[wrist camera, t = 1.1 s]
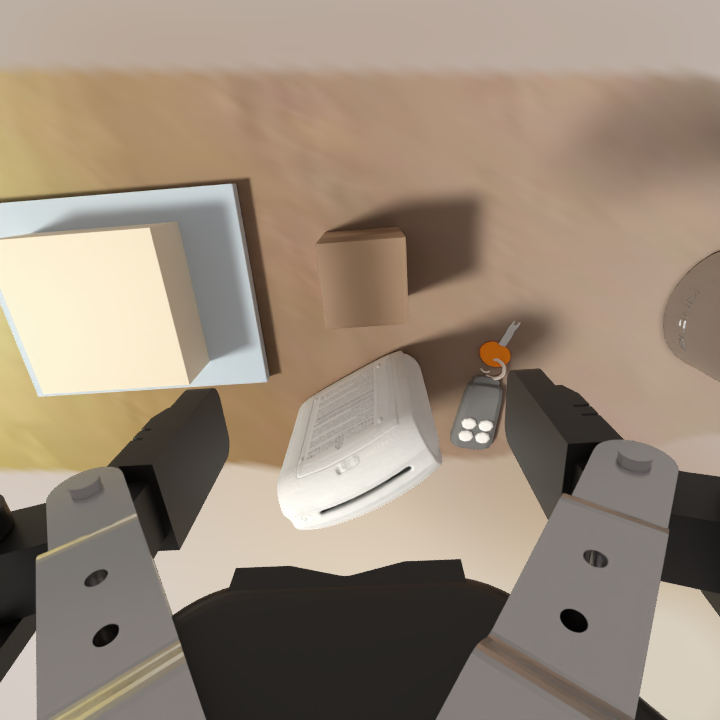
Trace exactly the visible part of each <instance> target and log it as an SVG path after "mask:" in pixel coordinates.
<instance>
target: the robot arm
mask: <svg viewBox="0 0 720 720" xmlns="http://www.w3.org/2000/svg"><path fill="white" fill-rule="evenodd" d="M663 328H664V335H665V339H666V342H667V344H668V346H669V348H670V349H671V351H672V352H673V353H674V354H675V355H676V356H677V357H678V358H680V359H681V360H682V361H684V362H685V363H687V364H689V365H691V366H692V367H694V368H696V369H698V370H699V371H701V372H703V373H705V374H706V375H708V376H710V377H712V378H713V379H715V380H717V381H719V382H720V251H719V252H717V253H715V254H713V255H711V256H709V257H708V258H706V259H705V260H703V261H702V262H700V263H699V264H697V265H696V266H695V267H694V268H693V269H692V270H691V271H690V272H688V273H687V274H686V275H685V276H684V278H683V279H682V280H681V282H680V283H679V284H678V285H677V287H676V288H675V290H674V292H673V293H672V295H671V297H670V299H669V301H668V304H667V307H666V310H665V314H664V323H663ZM505 432H506V437H507V441H508V444H509V446H510V448H511V450H512V452H513V454H514V456H515V457H516V459H517V461H518V463H519V465H520V467H521V469H522V471H523V473H524V475H525V477H526V478H527V480H528V482H529V484H530V486H531V488H532V490H533V492H534V494H535V496H536V498H537V499H538V501H539V503H540V505H541V507H542V509H543V511H544V513H545V515H546V517H547V519H548V522H547V524H546V526H545V528H544V530H543V532H542V534H541V536H540V538H539V540H538V542H537V544H536V546H535V547H534V550H533V551H532V553H531V555H530V557H529V559H528V561H527V563H526V565H525V567H524V569H523V571H522V573H521V575H520V577H519V579H518V581H517V582H516V584H515V586H514V588H513V590H512V592H511V594H509V593H506V592H505V591H503V590H501V589H498V588H496V587H493V586H491V585H489V584H485V583H482V582H479V581H475V580H471V579H466V578H465V575H464V571H463V567H462V563H461V559H455V560H430V561H406V562H401V563H397V564H393V565H389V566H386V567H382V568H378V569H374V570H370V571H366V572H363V573H359V574H355V575H351V576H339V575H334V574H328V573H323V572H318V571H313V570H308V569H303V568H298V567H293V566H278V567H254V568H236V570H235V573H234V576H233V578H232V581H231V584H230V587H229V588H226V589H222V590H220V591H217V592H214V593H212V594H209V595H207V596H205V597H203V598H201V599H198V600H196V601H195V602H193V603H191V604H190V605H188V606H186V607H184V608H183V609H181V610H180V611H178V612H177V613H176V614H174V615H173V614H172V611H171V609H170V605H169V603H168V600H167V597H166V594H165V591H164V588H163V586H162V582H161V579H160V576H159V574H158V571H157V568H156V565H155V562H154V557H155V555H156V554H157V552H158V551H165V550H166V551H167V550H180V548H181V546H182V544H183V542H184V541H185V539H186V537H187V535H188V533H189V531H190V529H191V527H192V525H193V523H194V521H195V519H196V517H197V515H198V514H199V512H200V510H201V508H202V506H203V504H204V502H205V500H206V498H207V496H208V494H209V492H210V491H211V489H212V487H213V485H214V483H215V481H216V479H217V477H218V475H219V473H220V471H221V469H222V467H223V465H224V464H225V462H226V460H227V457H228V453H229V436H228V431H227V427H226V423H225V418H224V414H223V410H222V405H221V401H220V397H219V394H218V392H217V390H216V389H214V388H208V389H192V390H186V391H185V392H184V393H183V394H182V395H181V396H180V397H179V398H178V400H177V401H176V402H175V403H174V404H173V405H172V406H171V407H170V408H167V409H166V410H164V411H162V412H161V413H159V414H158V415H156V416H154V417H153V418H151V420H150V421H149V422H148V423H147V424H146V425H145V426H144V427H143V428H142V431H139V433H138V434H137V435H136V436H135V437H134V438H133V441H130V442H129V443H128V444H127V446H126V447H125V448H124V449H123V450H122V451H121V452H120V453H119V454H118V455H117V456H116V457H115V458H114V460H113V461H112V462H111V463H110V464H109V465H108V466H107V467H99V468H94V469H90V470H87V471H84V472H81V473H79V474H76V475H74V476H72V477H70V478H69V479H67V480H65V481H64V482H62V483H61V484H60V485H58V486H57V487H56V488H54V490H52V491H51V493H50V494H49V495H48V497H47V500H46V503H44V504H40V505H36V506H32V507H28V508H24V509H19V510H15V511H12V512H11V511H10V509H9V507H8V505H7V504H6V501H5V499H4V497H3V496H2V495H0V682H1V681H2V679H3V678H4V676H5V675H6V673H7V672H8V670H9V669H10V668H11V666H12V664H13V663H14V662H15V660H16V659H17V657H18V656H19V654H20V653H21V652H22V650H23V649H24V647H25V646H26V644H27V643H28V641H29V640H30V638H31V637H32V636H33V634H34V633H35V631H36V658H37V659H36V661H37V663H36V664H37V720H667V719H666V718H665V717H664V716H662V715H661V714H660V713H659V712H658V711H656V710H655V709H654V708H652V707H651V706H650V705H649V704H648V703H647V702H645V701H644V700H643V699H642V698H641V697H639V693H640V688H641V683H642V677H643V672H644V666H645V660H646V656H647V650H648V644H649V639H650V633H651V628H652V622H653V617H654V612H655V607H656V601H657V596H658V590H659V584H660V581H663V582H668V583H673V584H677V585H682V586H687V587H691V588H695V589H700V590H701V592H702V593H703V594H704V596H705V597H706V599H707V600H708V601H709V603H710V604H711V605H712V607H713V608H714V610H715V611H716V612H717V613H718V615H719V616H720V477H718V476H710V475H703V474H696V473H688V472H683V471H678V466H677V464H676V462H675V461H674V460H673V459H672V458H671V457H670V456H668V455H667V454H666V453H664V452H663V451H661V450H659V449H657V448H655V447H652V446H650V445H647V444H644V443H640V442H636V441H630V440H624V439H623V438H622V437H621V436H620V435H619V434H618V433H617V432H616V431H615V430H614V429H613V428H612V427H611V426H610V425H609V424H608V423H607V422H606V421H605V420H604V419H603V418H602V417H601V416H600V415H598V413H597V412H596V411H595V410H594V409H593V408H592V407H591V406H589V403H588V402H587V401H586V400H585V399H584V398H583V397H582V396H581V395H580V394H579V393H577V392H575V391H573V390H571V389H569V388H567V387H565V386H563V385H554V384H553V382H552V381H551V380H550V379H549V378H548V377H547V376H546V375H545V374H544V372H543V371H542V370H541V369H523V370H510V371H509V373H508V378H507V392H506V410H505Z"/></svg>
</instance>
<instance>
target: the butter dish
mask: <svg viewBox="0 0 720 720" xmlns="http://www.w3.org/2000/svg"><path fill="white" fill-rule="evenodd" d="M0 304H1V307H2V309H3V312H4V314H5V316H6V319H7V321H8V324H9V326H10V329H11V331H12V333H13V336H14V338H15V341H16V343H17V346H18V348H19V350H20V353H21V355H22V358H23V360H24V363H25V365H26V367H27V370H28V372H29V375H30V377H31V380H32V382H33V384H34V387H35V389H36V392H37V394H38V397H41V396H57V395H72V394H88V393H103V392H119V391H135V390H150V389H166V388H181V387H197V386H212V385H228V384H243V383H259V382H267V381H268V379H269V377H270V375H269V369H268V363H267V358H266V352H265V346H264V340H263V335H262V329H261V323H260V317H259V312H258V306H257V300H256V294H255V289H254V283H253V277H252V271H251V266H250V260H249V254H248V248H247V243H246V237H245V231H244V225H243V220H242V214H241V208H240V202H239V197H238V191H237V185H236V184H222V185H210V186H198V187H186V188H174V189H162V190H150V191H138V192H126V193H115V194H103V195H91V196H79V197H67V198H55V199H43V200H31V201H19V202H7V203H0Z"/></svg>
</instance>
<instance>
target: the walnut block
mask: <svg viewBox="0 0 720 720" xmlns="http://www.w3.org/2000/svg"><path fill="white" fill-rule="evenodd" d="M316 251H317V260H318V268H319V277H320V286H321V295H322V304H323V313H324V321H325V329H337V328H351V327H366V326H381V325H395V324H409V318H408V288H407V258H406V237H405V235H404V234H403V232H402V231H401V229H400V228H399V227H398V226H396V227H383V228H371V229H358V230H345V231H332V232H325V233H324V234H323V236H322V237H321V238H320V239H319V241H318V242H317V243H316Z"/></svg>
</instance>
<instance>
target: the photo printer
mask: <svg viewBox="0 0 720 720" xmlns="http://www.w3.org/2000/svg"><path fill="white" fill-rule="evenodd" d="M441 464H442V456H441V451H440V448H439V439H438V434H437V430H436V426H435V422H434V419H433V415H432V411H431V407H430V403H429V399H428V395H427V391H426V387H425V384H424V380H423V376H422V372H421V369H420V366H419V364H418V363H417V362H416V360H415V359H413V358H412V357H411V356H409V355H407V354H404V353H403V352H402V351H397V352H394V353H391V354H389V355H386V356H384V357H382V358H380V359H378V360H376V361H374V362H372V363H370V364H368V365H366V366H365V367H363V368H361V369H359V370H357V371H355V372H353V373H352V374H350V375H348V376H346V377H344V378H342V379H341V380H339V381H337V382H335V383H334V384H332V385H330V386H328V387H326V388H325V389H323V390H321V391H320V392H318V393H316V394H315V395H313V396H312V397H310V398H309V399H308V400H307V401H305V402H304V403H303V404H302V405H301V407H300V409H299V413H298V416H297V420H296V423H295V426H294V430H293V433H292V436H291V440H290V443H289V446H288V450H287V453H286V456H285V459H284V463H283V466H282V469H281V473H280V476H279V480H278V484H277V485H278V486H277V488H278V498H279V503H280V507H281V509H282V512H283V514H284V516H285V517H287V518H289V519H290V520H291V521H292V523H293V524H294V526H295V528H297V529H299V530H310V529H320V528H325V527H329V526H333V525H337V524H340V523H343V522H346V521H349V520H351V519H354V518H357V517H359V516H362V515H364V514H366V513H369V512H371V511H373V510H375V509H377V508H379V507H381V506H383V505H385V504H387V503H389V502H391V501H392V500H394V499H396V498H398V497H400V496H401V495H403V494H405V493H406V492H408V491H409V490H411V489H413V488H414V487H416V486H417V485H419V483H421V482H422V481H424V480H425V479H426V478H427V477H429V476H430V475H431V474H432V473H433V472H434V471H435V470H437V468H439V466H441Z"/></svg>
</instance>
